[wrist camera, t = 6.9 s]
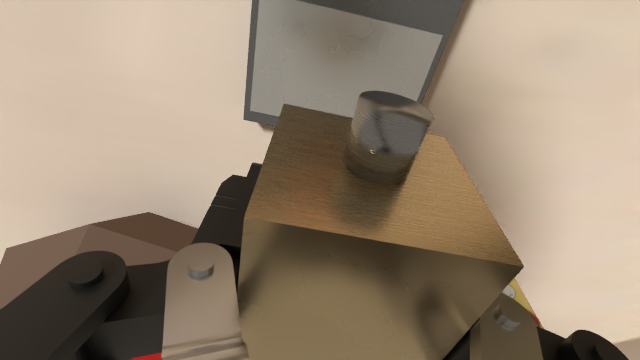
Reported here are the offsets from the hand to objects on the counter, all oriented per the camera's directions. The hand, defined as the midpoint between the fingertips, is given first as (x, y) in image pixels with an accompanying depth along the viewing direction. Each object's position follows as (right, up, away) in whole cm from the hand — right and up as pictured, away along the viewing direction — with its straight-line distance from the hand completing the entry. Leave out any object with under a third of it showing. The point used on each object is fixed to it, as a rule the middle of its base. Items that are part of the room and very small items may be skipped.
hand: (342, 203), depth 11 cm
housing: (0, 0, +1) cm, 1 cm away
